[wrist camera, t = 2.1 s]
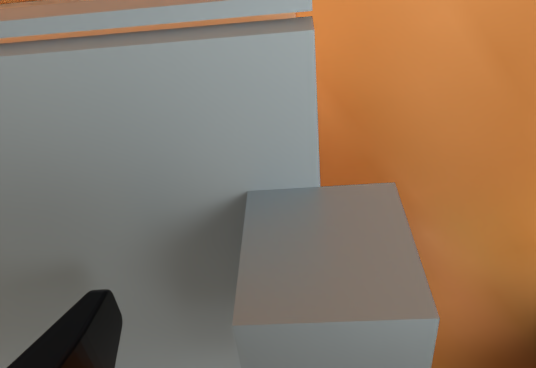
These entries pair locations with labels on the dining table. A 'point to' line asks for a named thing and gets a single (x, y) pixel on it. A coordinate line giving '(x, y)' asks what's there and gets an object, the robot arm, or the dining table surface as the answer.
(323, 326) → the lid
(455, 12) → the dining table surface
